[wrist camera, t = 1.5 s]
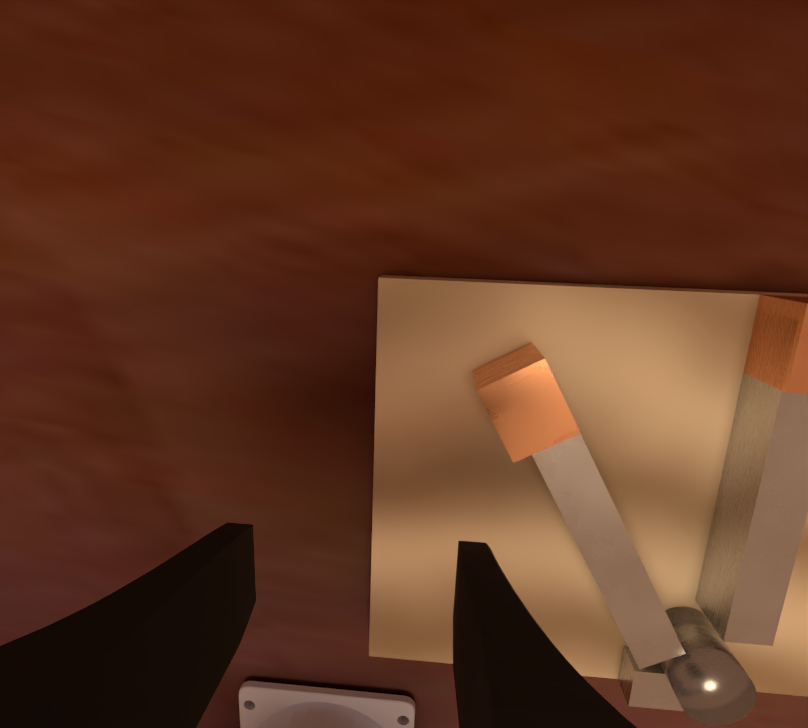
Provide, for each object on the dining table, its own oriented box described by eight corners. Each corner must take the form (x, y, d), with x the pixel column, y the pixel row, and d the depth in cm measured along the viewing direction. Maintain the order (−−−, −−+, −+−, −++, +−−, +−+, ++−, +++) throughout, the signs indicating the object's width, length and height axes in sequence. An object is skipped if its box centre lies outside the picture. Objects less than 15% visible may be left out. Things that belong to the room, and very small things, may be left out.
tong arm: (660, 611, 19) (688, 658, 17) (605, 631, 19) (625, 680, 17) (532, 342, 17) (545, 358, 15) (472, 371, 17) (476, 390, 15)
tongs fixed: (734, 689, 20) (780, 761, 17) (617, 678, 20) (644, 747, 18) (831, 297, 16) (910, 310, 13) (685, 291, 16) (733, 302, 14)
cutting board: (807, 672, 21) (828, 698, 20) (372, 633, 22) (368, 656, 21) (915, 298, 17) (949, 302, 16) (382, 275, 18) (378, 277, 17)
